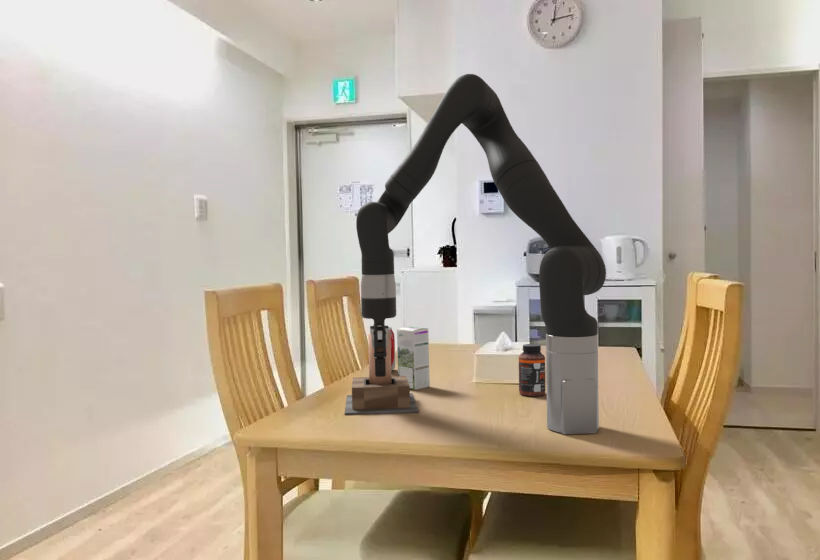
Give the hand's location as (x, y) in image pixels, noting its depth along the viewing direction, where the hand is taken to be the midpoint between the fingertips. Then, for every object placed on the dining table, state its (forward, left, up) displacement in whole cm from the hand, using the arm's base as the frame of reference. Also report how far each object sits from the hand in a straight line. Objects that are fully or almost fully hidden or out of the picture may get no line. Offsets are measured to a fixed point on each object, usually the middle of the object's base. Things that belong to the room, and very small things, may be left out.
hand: (380, 373), depth 151 cm
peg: (0, 0, -3) cm, 3 cm away
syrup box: (+18, -8, -7) cm, 21 cm away
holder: (0, 0, -7) cm, 7 cm away
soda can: (+43, -1, -7) cm, 43 cm away
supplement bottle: (+5, -34, -7) cm, 35 cm away
